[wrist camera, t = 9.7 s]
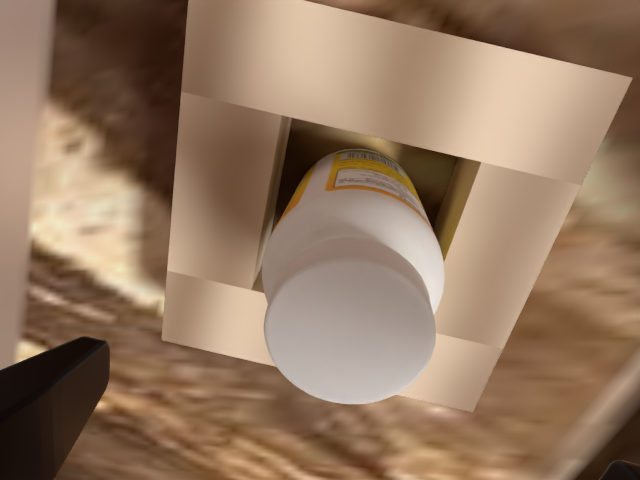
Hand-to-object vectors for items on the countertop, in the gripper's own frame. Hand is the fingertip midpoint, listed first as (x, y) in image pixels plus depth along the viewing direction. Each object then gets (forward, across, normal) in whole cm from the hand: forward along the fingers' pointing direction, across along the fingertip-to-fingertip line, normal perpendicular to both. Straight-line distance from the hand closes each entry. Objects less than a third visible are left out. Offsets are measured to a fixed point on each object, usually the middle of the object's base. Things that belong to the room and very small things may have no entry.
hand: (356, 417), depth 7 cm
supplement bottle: (+12, 0, 0) cm, 12 cm away
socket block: (+12, 0, 0) cm, 12 cm away
